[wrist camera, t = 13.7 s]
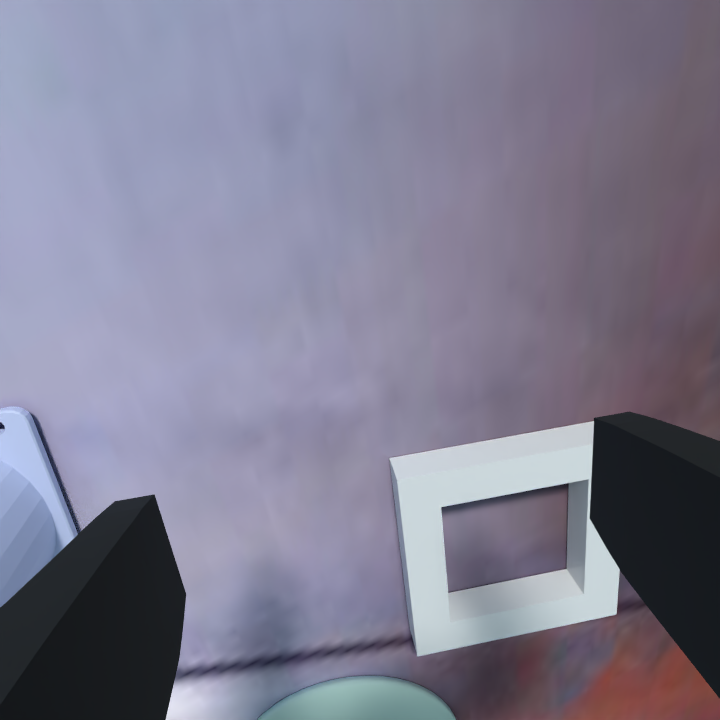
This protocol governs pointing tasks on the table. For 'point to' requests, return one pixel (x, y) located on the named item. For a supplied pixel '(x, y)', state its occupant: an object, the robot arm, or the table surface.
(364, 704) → the coaster
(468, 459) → the frame
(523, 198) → the table surface
